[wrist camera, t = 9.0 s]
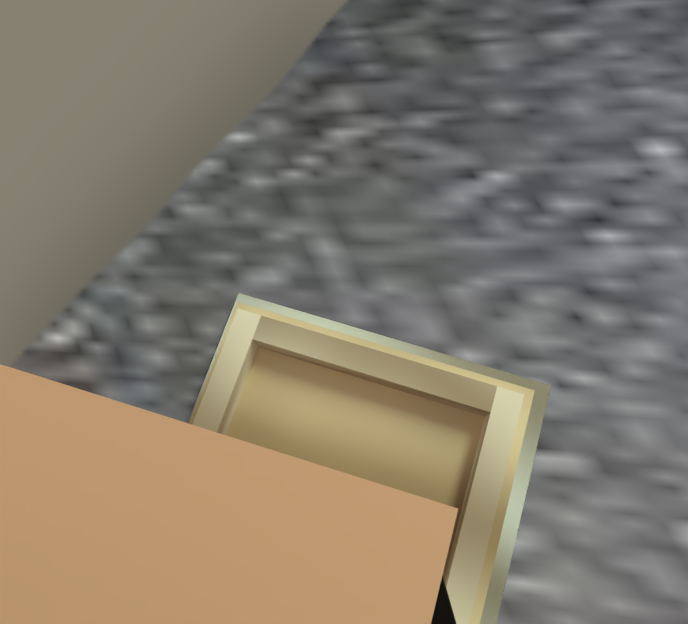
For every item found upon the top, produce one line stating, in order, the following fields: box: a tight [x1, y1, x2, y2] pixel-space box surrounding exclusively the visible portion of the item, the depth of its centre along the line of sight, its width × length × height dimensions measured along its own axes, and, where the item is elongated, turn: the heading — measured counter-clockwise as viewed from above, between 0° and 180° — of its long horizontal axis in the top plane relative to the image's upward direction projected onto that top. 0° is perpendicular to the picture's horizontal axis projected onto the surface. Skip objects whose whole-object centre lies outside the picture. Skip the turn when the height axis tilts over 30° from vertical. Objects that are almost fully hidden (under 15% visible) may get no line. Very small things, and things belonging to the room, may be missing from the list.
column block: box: [0, 364, 458, 624], centre depth 10 cm, size 5×5×11 cm
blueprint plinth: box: [188, 293, 551, 624], centre depth 19 cm, size 12×12×4 cm
